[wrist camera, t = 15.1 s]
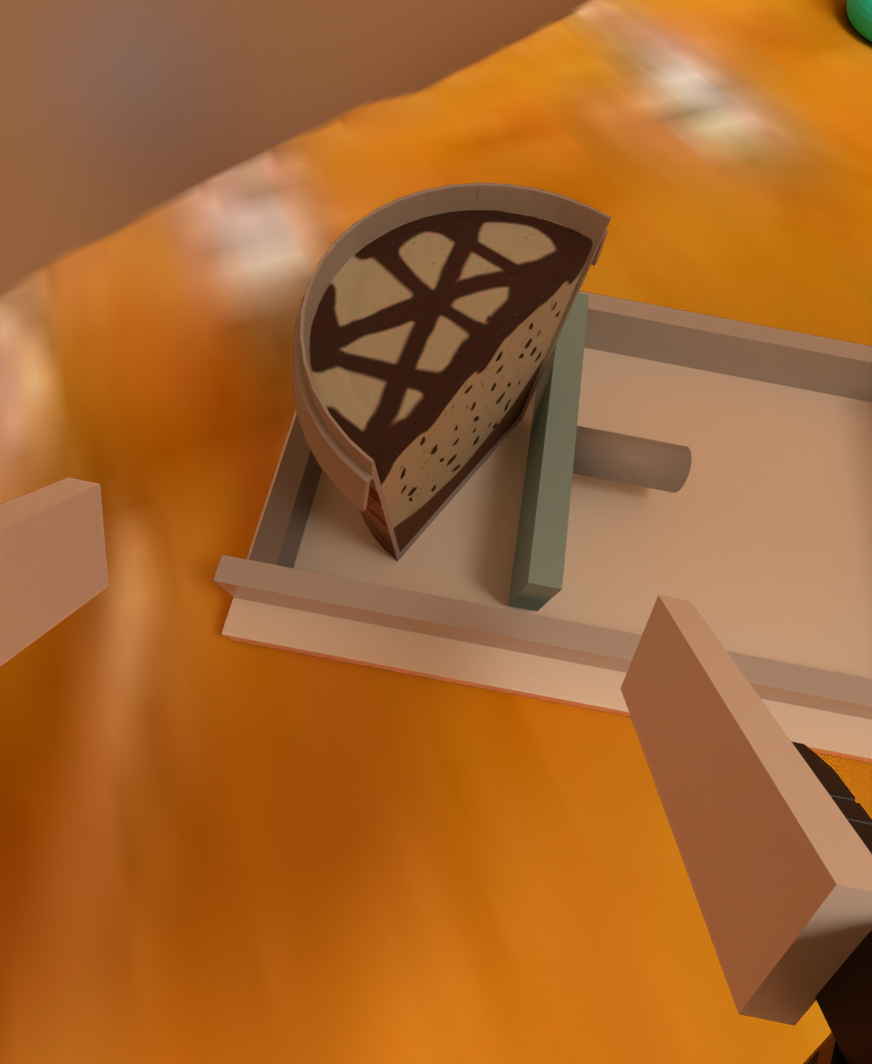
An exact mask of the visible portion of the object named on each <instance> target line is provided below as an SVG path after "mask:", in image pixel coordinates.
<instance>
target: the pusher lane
mask: <svg viewBox="0 0 872 1064" xmlns="http://www.w3.org/2000/svg"><path fill="white" fill-rule="evenodd" d="M332 245H333V244H330V247H331V246H332ZM330 247H329V249H330ZM578 293H581V294H587V295H589V301H588V312H587V323H586V334H585V345H584V356H583V366H582V377H581V388H580V399H579V410H578V421H577V426H582V427H587V428H593V429H598V430H603V431H608V432H614V433H619V434H624V435H629V436H635V437H640V438H645V439H650V440H656V441H661V442H666V443H671V444H677V445H682V446H687V447H689V449H690V451H691V455H692V461H691V468H690V472H689V475H688V478H687V480H686V482H685V484H684V485H683V487H682V488H681V489H680V490H679V491H678V492H676V493H672V492H667V491H661V490H656V489H651V488H646V487H640V486H635V485H630V484H625V483H619V482H614V481H609V480H604V479H598V478H593V477H588V476H583V475H577V474H573V475H572V486H571V497H570V508H569V519H568V530H567V541H566V552H565V563H564V573H563V584H562V590H561V591H559V592H558V593H557V594H556V595H555V596H554V597H553V598H552V599H551V600H549V601H548V602H547V603H546V604H545V605H544V606H543V607H542V608H540V609H539V610H538V611H532V610H527V609H522V608H517V607H511V606H508V604H509V597H510V589H511V581H512V573H513V566H514V558H515V550H516V543H517V535H518V527H519V519H520V512H521V504H522V496H523V489H524V481H525V473H526V465H527V458H528V450H529V442H530V434H531V427H532V419H533V411H534V404H535V396H536V389H535V392H534V394H533V396H532V398H531V401H530V403H529V405H528V407H527V410H526V412H525V414H524V416H523V419H522V420H521V421H520V422H519V423H518V424H517V426H516V427H515V428H514V429H513V430H512V431H511V432H510V434H509V435H508V436H507V437H506V438H505V439H504V440H503V442H502V443H501V444H500V445H499V446H498V447H497V448H496V450H495V451H494V452H493V453H492V454H491V455H490V456H489V458H488V459H487V460H486V461H485V462H484V463H483V464H482V466H481V467H480V468H479V469H478V470H477V471H476V473H475V474H474V475H473V476H472V477H471V478H470V479H469V481H468V482H467V483H466V484H465V485H464V486H463V487H462V489H461V490H460V491H459V492H458V493H457V494H456V495H455V497H454V498H453V499H452V500H451V501H450V502H449V503H448V505H447V506H446V507H445V508H444V509H443V510H442V512H441V513H440V514H439V515H438V516H437V517H436V518H435V520H434V521H433V522H432V523H431V524H430V525H429V526H428V528H427V529H426V530H425V531H424V532H423V533H422V534H421V536H420V537H419V538H418V539H417V540H416V541H415V542H414V544H413V545H412V546H411V547H410V548H409V549H408V550H407V552H406V553H405V554H404V555H403V556H402V557H401V559H400V560H399V561H397V560H396V559H394V558H393V557H392V556H391V555H390V554H389V553H388V552H387V551H386V550H384V549H383V547H382V546H381V545H380V544H379V542H378V541H377V540H376V539H375V537H374V536H373V535H372V533H371V531H370V529H369V528H368V526H367V524H366V522H365V521H364V518H363V516H362V514H361V511H360V509H359V508H358V507H357V506H356V505H354V504H353V503H352V502H351V501H350V500H349V499H348V498H347V497H346V496H345V495H343V494H342V493H341V492H340V491H339V489H338V488H337V487H336V486H335V484H334V483H333V482H332V481H331V479H330V478H329V477H328V476H327V474H326V473H325V472H324V471H323V469H322V468H321V467H320V465H319V463H318V462H317V460H316V458H315V456H314V454H313V452H312V451H311V449H310V447H309V445H308V443H307V442H306V440H305V437H304V434H303V431H302V428H301V425H300V422H299V419H298V416H297V413H296V409H295V412H294V415H293V418H292V421H291V425H290V428H289V431H288V434H287V437H286V440H285V443H284V446H283V449H282V452H281V455H280V458H279V461H278V464H277V467H276V470H275V473H274V476H273V479H272V482H271V485H270V488H269V491H268V494H267V497H266V500H265V503H264V506H263V509H262V512H261V515H260V518H259V521H258V524H257V527H256V531H255V534H254V537H253V540H252V543H251V546H250V549H249V552H248V555H247V558H246V559H242V558H237V557H231V556H226V555H222V556H221V559H220V562H219V565H218V568H217V571H216V574H215V576H214V579H213V581H214V582H215V583H217V584H218V585H219V586H220V587H221V588H222V589H224V590H225V591H226V592H227V593H228V594H230V595H231V596H232V597H233V600H232V603H231V606H230V609H229V612H228V615H227V618H226V621H225V624H224V627H223V630H222V635H224V636H225V637H227V638H229V639H231V640H232V641H237V642H242V643H248V644H253V645H258V646H263V647H268V648H274V649H279V650H284V651H289V652H294V653H300V654H305V655H310V656H315V657H321V658H326V659H331V660H336V661H341V662H347V663H352V664H357V665H362V666H367V667H373V668H378V669H383V670H388V671H394V672H399V673H404V674H409V675H414V676H420V677H425V678H430V679H435V680H441V681H446V682H451V683H456V684H461V685H467V686H472V687H477V688H482V689H487V690H493V691H498V692H503V693H508V694H514V695H519V696H524V697H529V698H534V699H540V700H545V701H550V702H555V703H560V704H566V705H571V706H576V707H581V708H587V709H592V710H597V711H602V712H607V713H613V714H618V715H623V716H628V717H631V716H630V713H629V711H628V708H627V705H626V702H625V700H624V697H623V694H622V691H621V689H620V688H621V686H622V683H623V681H624V679H625V676H626V674H627V671H628V669H629V666H630V664H631V661H632V659H633V656H634V654H635V651H636V649H637V646H638V644H639V641H640V639H641V636H642V634H643V632H644V629H645V627H646V624H647V622H648V619H649V617H650V614H651V612H652V609H653V607H654V604H655V602H656V599H657V597H658V595H662V596H667V597H672V598H677V599H682V600H687V601H691V602H692V603H693V605H694V606H695V607H696V609H697V610H698V612H699V613H700V614H701V616H702V617H703V619H704V620H705V621H706V623H707V624H708V626H709V627H710V628H711V630H712V631H713V633H714V634H715V635H716V637H717V638H718V640H719V641H720V642H721V644H722V645H723V647H724V648H725V649H726V651H727V652H728V654H729V655H730V656H731V658H732V659H733V661H734V662H735V663H736V665H737V666H738V668H739V669H740V670H741V672H742V673H743V675H744V676H745V677H746V679H747V680H748V682H749V683H750V684H751V686H752V687H753V689H754V690H755V691H756V693H757V694H758V696H759V697H760V698H761V700H762V701H763V703H764V704H765V705H766V707H767V708H768V710H769V711H770V712H771V714H772V715H773V717H774V718H775V719H776V721H777V722H778V724H779V725H780V726H781V728H782V729H783V731H784V732H785V733H786V735H787V736H788V738H789V739H790V740H791V741H792V742H797V743H802V744H805V745H806V746H807V747H808V748H809V749H811V750H812V751H813V752H816V753H821V754H827V755H832V756H837V757H842V758H847V759H853V760H858V761H863V762H868V763H872V346H868V345H862V344H857V343H852V342H847V341H841V340H836V339H831V338H826V337H820V336H815V335H810V334H805V333H799V332H794V331H789V330H783V329H778V328H773V327H768V326H762V325H757V324H752V323H747V322H741V321H736V320H731V319H725V318H720V317H715V316H710V315H704V314H699V313H694V312H689V311H683V310H678V309H673V308H668V307H662V306H657V305H652V304H646V303H641V302H636V301H631V300H625V299H620V298H615V297H610V296H604V295H599V294H594V293H588V292H583V291H579V292H578ZM536 388H537V387H536Z"/></svg>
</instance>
